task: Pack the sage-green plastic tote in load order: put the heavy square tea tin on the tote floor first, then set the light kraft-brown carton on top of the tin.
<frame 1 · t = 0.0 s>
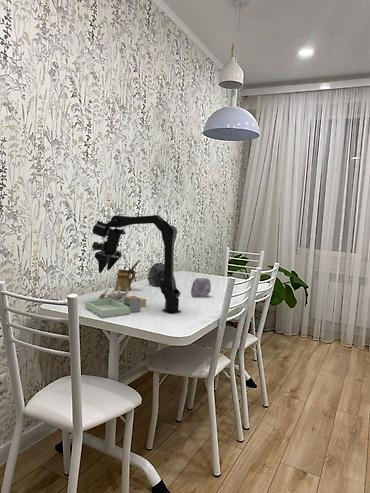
hand: (103, 271, 184), 15 cm above the table, tool pointing down, fingers open, 9 cm apart
rock: (200, 297, 213), on the table
skeleton model: (113, 299, 196), on the table
tote: (106, 311, 171), on the table
carton: (139, 306, 184), on the table
tea tin: (131, 311, 174), on the table
rock 2: (158, 285, 238), on the table
wooden mug: (126, 290, 219), on the table
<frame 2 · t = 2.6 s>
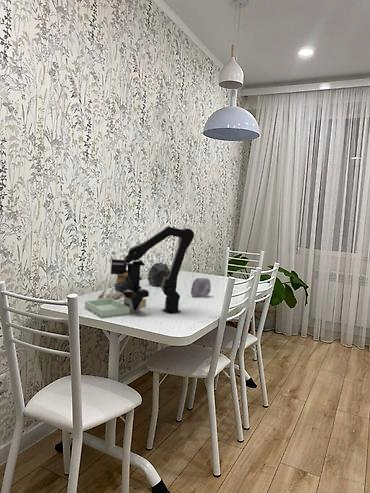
hand: (131, 308, 174), 1 cm above the table, tool pointing down, fingers closed on tea tin, 5 cm apart
tea tin: (131, 310, 174), on the table, touching gripper
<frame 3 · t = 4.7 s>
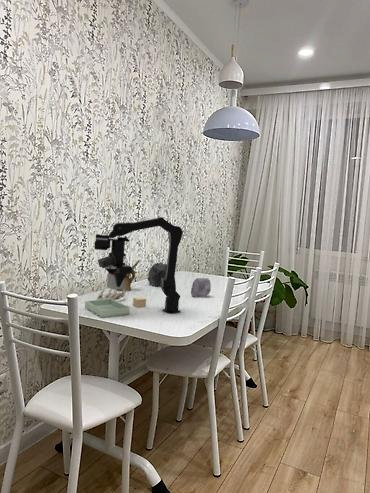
hand: (115, 285, 171), 12 cm above the table, tool pointing down, fingers closed on tea tin, 5 cm apart
tea tin: (115, 287, 171), point 11 cm above the table, touching gripper
when the fingers open (3 cm above the table, at t = 6.9 s): tea tin drops 1 cm, resting on tote.
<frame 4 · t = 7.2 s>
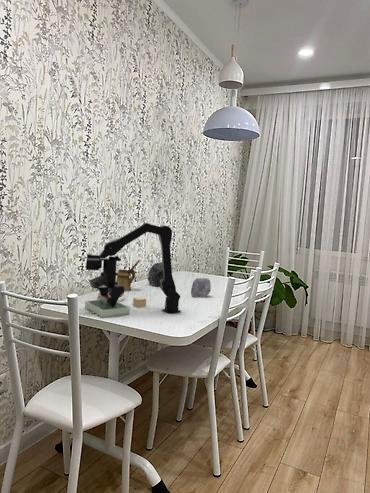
hand: (108, 305, 171), 3 cm above the table, tool pointing down, fingers open, 9 cm apart
tea tin: (108, 309, 172), point 1 cm above the table, touching tote
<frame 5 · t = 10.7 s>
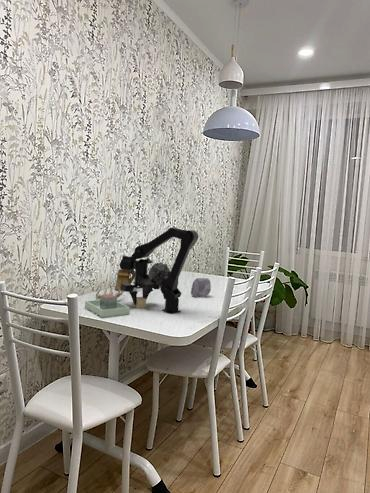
hand: (139, 304, 184), 1 cm above the table, tool pointing down, fingers closed on carton, 4 cm apart
carton: (139, 306, 184), on the table, touching gripper
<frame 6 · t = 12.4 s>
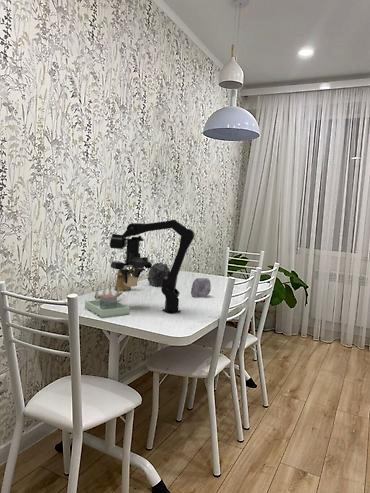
hand: (130, 283, 179), 12 cm above the table, tool pointing down, fingers closed on carton, 4 cm apart
carton: (130, 285, 179), point 11 cm above the table, touching gripper
when the fingers open (9 cm above the table, at t = 14.2 s): carton stays where it is, resting on tea tin.
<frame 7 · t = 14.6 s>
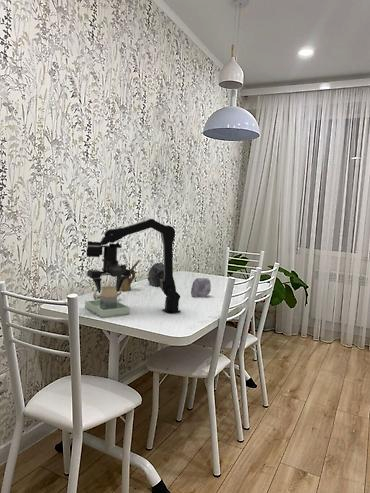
hand: (108, 292, 171), 9 cm above the table, tool pointing down, fingers open, 9 cm apart
carton: (108, 296, 171), point 7 cm above the table, touching tea tin
tea tin: (108, 309, 172), point 1 cm above the table, touching carton, tote
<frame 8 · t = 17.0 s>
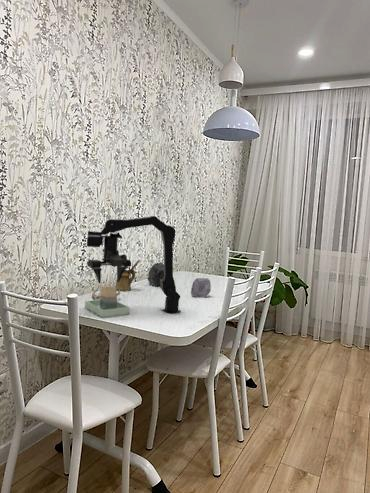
hand: (109, 282, 170), 13 cm above the table, tool pointing down, fingers open, 9 cm apart
at the end: tea tin inside the target area on the tote (0.6 cm from its centre), point 0.6 cm above the tote's base; tea tin tilted 0°; carton 0.2 cm off-centre on the tea tin, point 6.2 cm above the tea tin's base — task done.
